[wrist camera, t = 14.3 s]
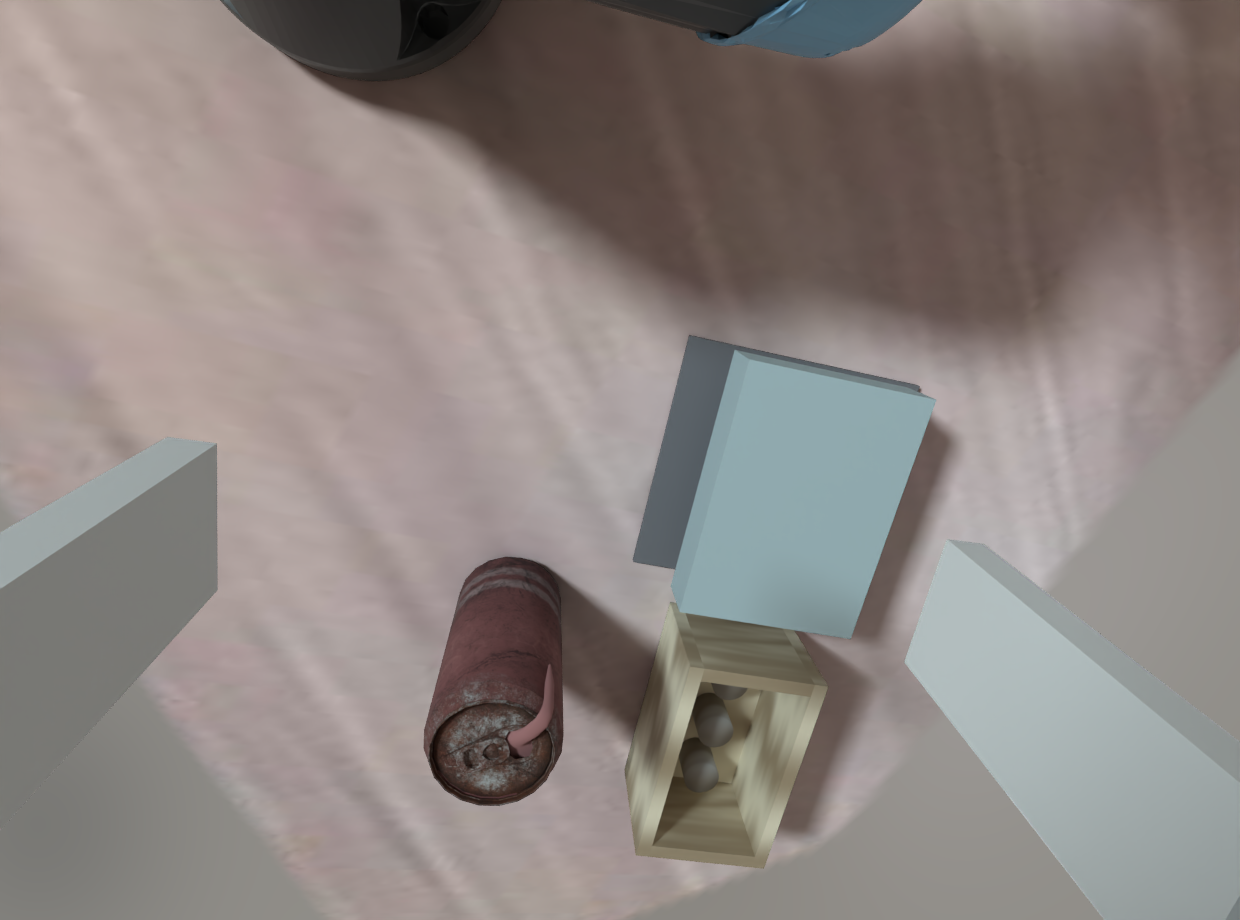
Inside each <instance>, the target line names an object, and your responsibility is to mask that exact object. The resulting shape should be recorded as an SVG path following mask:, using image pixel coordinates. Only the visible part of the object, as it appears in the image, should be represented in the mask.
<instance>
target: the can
mask: <svg viewBox="0 0 1240 920" xmlns="http://www.w3.org/2000/svg"><path fill="white" fill-rule="evenodd" d="M562 743H563V690H562V638H561V597H560V594H559V590H558V586H557V584H556V582H555V581H554V579H553V578H552V576H551V575H550V574H549V572H547V571H546V570H545V569H543V568H542V567H541V566H539V565H538V564H537V563H534V562H532V561H529V560H526V559H523V558H515V557H503V558H498V559H494V560H490V561H488V562H486V563H484V564H483V565H481V566H479V567H477V568H476V569H475V570H474V571H473V572H472V573H471V574H470V575H469V576H468V578H467V579H466V580H465V582H464V585H463V587H462V589H461V592H460V595H459V599H458V603H457V606H456V610H455V614H454V618H453V622H452V626H451V629H450V633H449V637H448V641H447V645H446V649H445V652H444V656H443V660H442V664H441V668H440V672H439V675H438V679H437V683H436V687H435V691H434V695H433V698H432V702H431V706H430V710H429V714H428V718H427V721H426V725H425V729H424V751H425V753H426V756H427V759H428V762H429V765H430V768H431V770H432V773H433V776H434V778H435V779H436V780H437V781H438V783H439V784H440V785H441V786H442V787H443V789H444V790H445V791H447V792H448V793H450V794H452V795H453V796H455V797H456V798H458V799H460V800H462V801H465V802H469V803H473V804H476V805H485V806H500V805H504V804H508V803H513V802H517V801H519V800H521V799H523V798H525V797H527V796H528V795H530V794H532V793H534V792H535V791H536V790H537V789H538V788H539V787H540V786H541V785H542V784H543V783H544V782H545V781H546V780H547V778H548V776H549V774H550V772H551V771H552V770H553V768H554V766H555V764H556V762H557V760H558V758H559V756H560V754H561V752H562Z"/></svg>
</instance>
